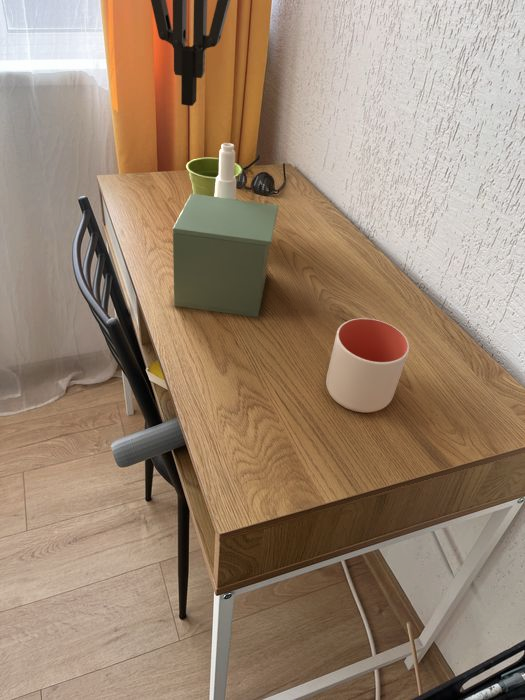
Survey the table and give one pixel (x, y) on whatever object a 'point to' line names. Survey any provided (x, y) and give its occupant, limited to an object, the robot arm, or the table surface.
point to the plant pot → (206, 175)
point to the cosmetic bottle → (226, 173)
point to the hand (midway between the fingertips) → (188, 102)
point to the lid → (227, 219)
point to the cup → (366, 364)
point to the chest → (219, 274)
